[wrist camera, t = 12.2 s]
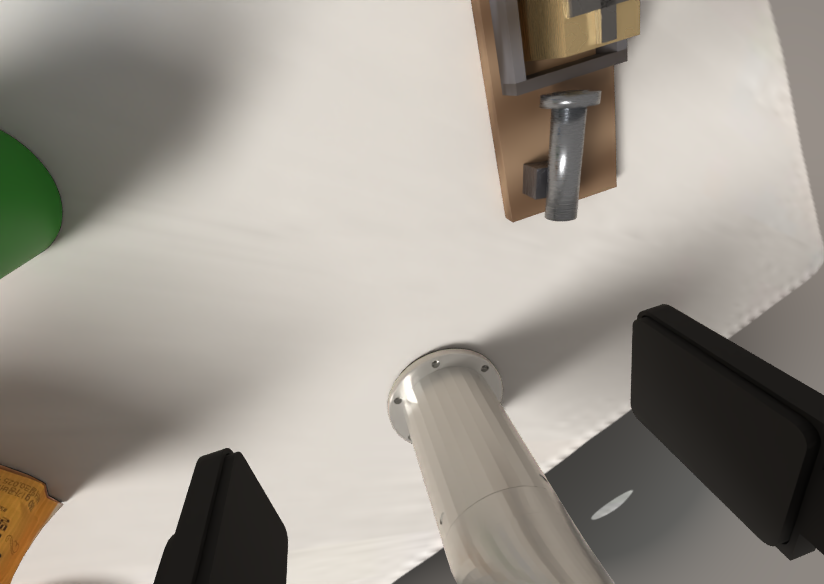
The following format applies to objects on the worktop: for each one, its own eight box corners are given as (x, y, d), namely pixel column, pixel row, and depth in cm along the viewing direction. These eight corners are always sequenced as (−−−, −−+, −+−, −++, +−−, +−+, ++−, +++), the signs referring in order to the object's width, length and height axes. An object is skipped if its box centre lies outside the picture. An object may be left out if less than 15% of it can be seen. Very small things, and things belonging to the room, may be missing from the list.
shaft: (512, 93, 33) (559, 94, 27) (558, 87, 34) (614, 88, 28) (510, 204, 37) (550, 227, 31) (551, 197, 38) (598, 219, 32)
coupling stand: (606, 183, 39) (635, 193, 35) (505, 217, 38) (526, 231, 34) (589, -292, 25) (636, -354, 21) (430, -253, 24) (452, -311, 20)
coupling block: (579, -39, 29) (647, -70, 23) (583, 42, 31) (646, 33, 26) (512, -20, 29) (565, -46, 23) (521, 61, 31) (571, 56, 25)
